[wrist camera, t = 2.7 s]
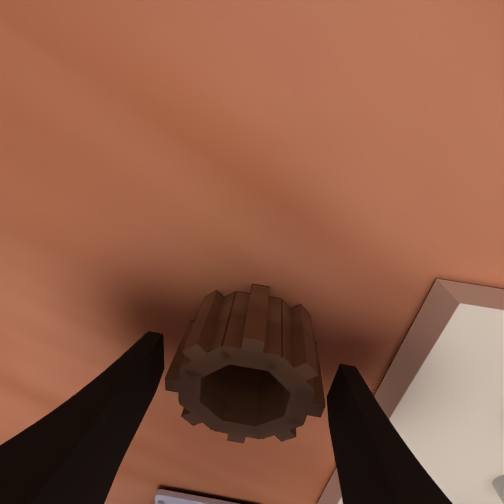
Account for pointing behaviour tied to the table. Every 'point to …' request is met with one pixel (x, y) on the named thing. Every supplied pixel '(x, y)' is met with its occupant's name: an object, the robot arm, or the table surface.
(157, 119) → the table surface
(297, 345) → the walnut gear
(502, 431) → the gear board
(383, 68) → the table surface
